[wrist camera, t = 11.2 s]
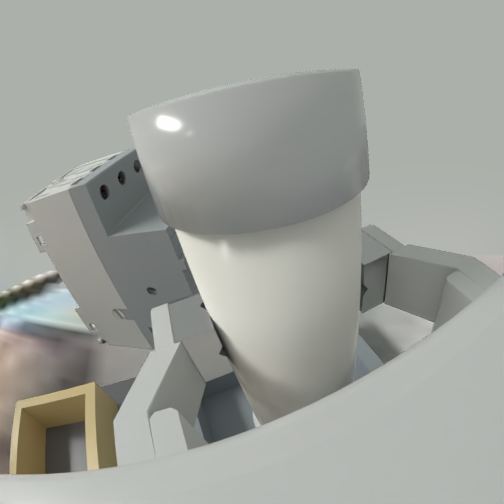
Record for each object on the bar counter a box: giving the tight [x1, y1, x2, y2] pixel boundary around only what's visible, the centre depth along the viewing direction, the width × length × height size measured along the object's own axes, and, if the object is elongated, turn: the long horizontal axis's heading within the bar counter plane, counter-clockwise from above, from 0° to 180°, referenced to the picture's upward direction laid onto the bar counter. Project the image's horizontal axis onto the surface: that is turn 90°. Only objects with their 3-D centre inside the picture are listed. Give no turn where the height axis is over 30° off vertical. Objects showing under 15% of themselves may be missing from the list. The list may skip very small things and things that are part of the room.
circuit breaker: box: [20, 148, 199, 349], centre depth 23 cm, size 8×14×15 cm, turn 81°
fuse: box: [126, 69, 370, 427], centre depth 9 cm, size 4×4×14 cm
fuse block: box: [9, 377, 136, 475], centre depth 14 cm, size 12×12×4 cm
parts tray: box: [194, 333, 384, 444], centre depth 14 cm, size 12×14×3 cm
